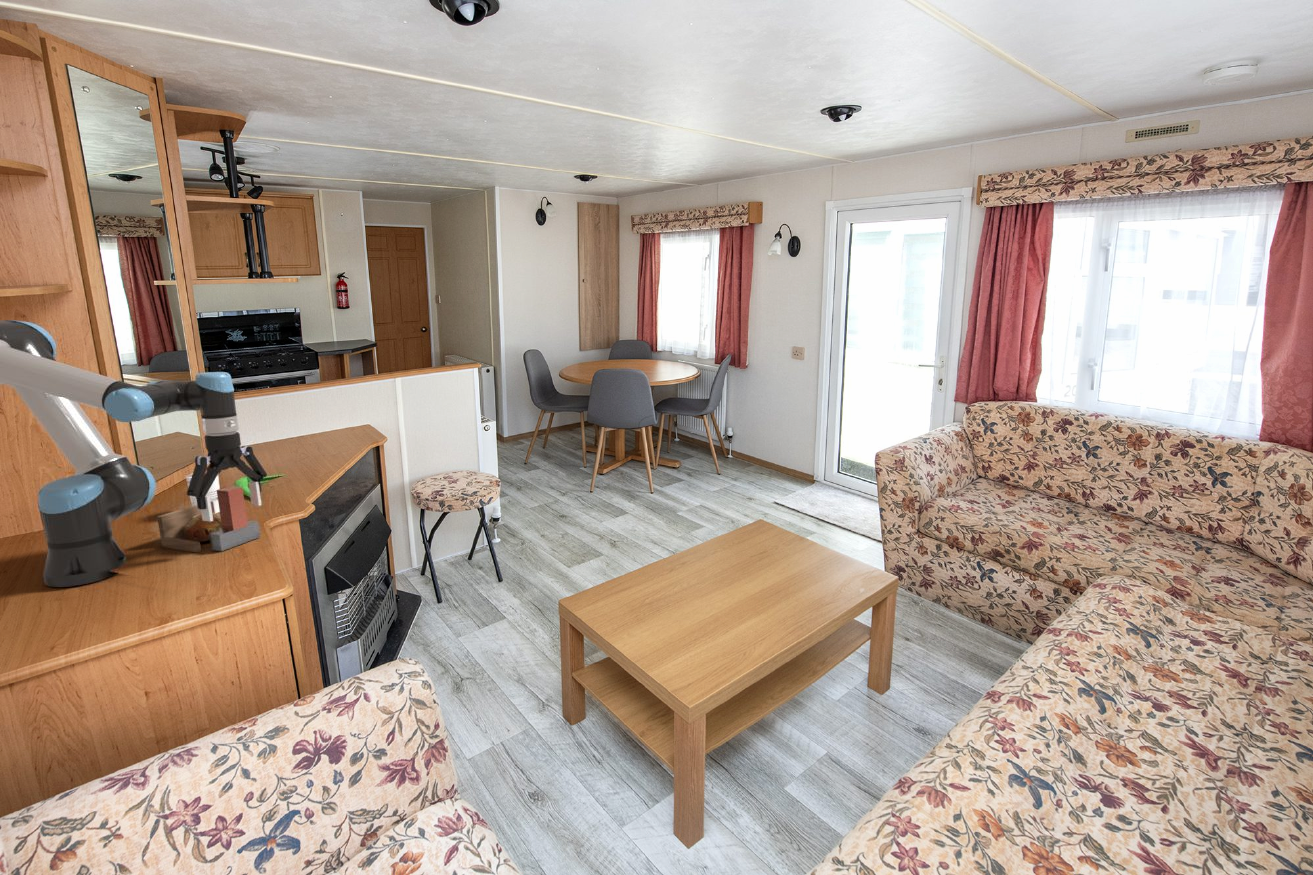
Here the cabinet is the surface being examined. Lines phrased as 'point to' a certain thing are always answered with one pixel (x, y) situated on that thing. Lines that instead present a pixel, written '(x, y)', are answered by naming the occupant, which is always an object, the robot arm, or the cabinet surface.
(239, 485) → the lime squeezer
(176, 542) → the frame
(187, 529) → the bread roll
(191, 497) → the striped cup with float
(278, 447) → the cabinet surface
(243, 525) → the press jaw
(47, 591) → the cabinet surface
